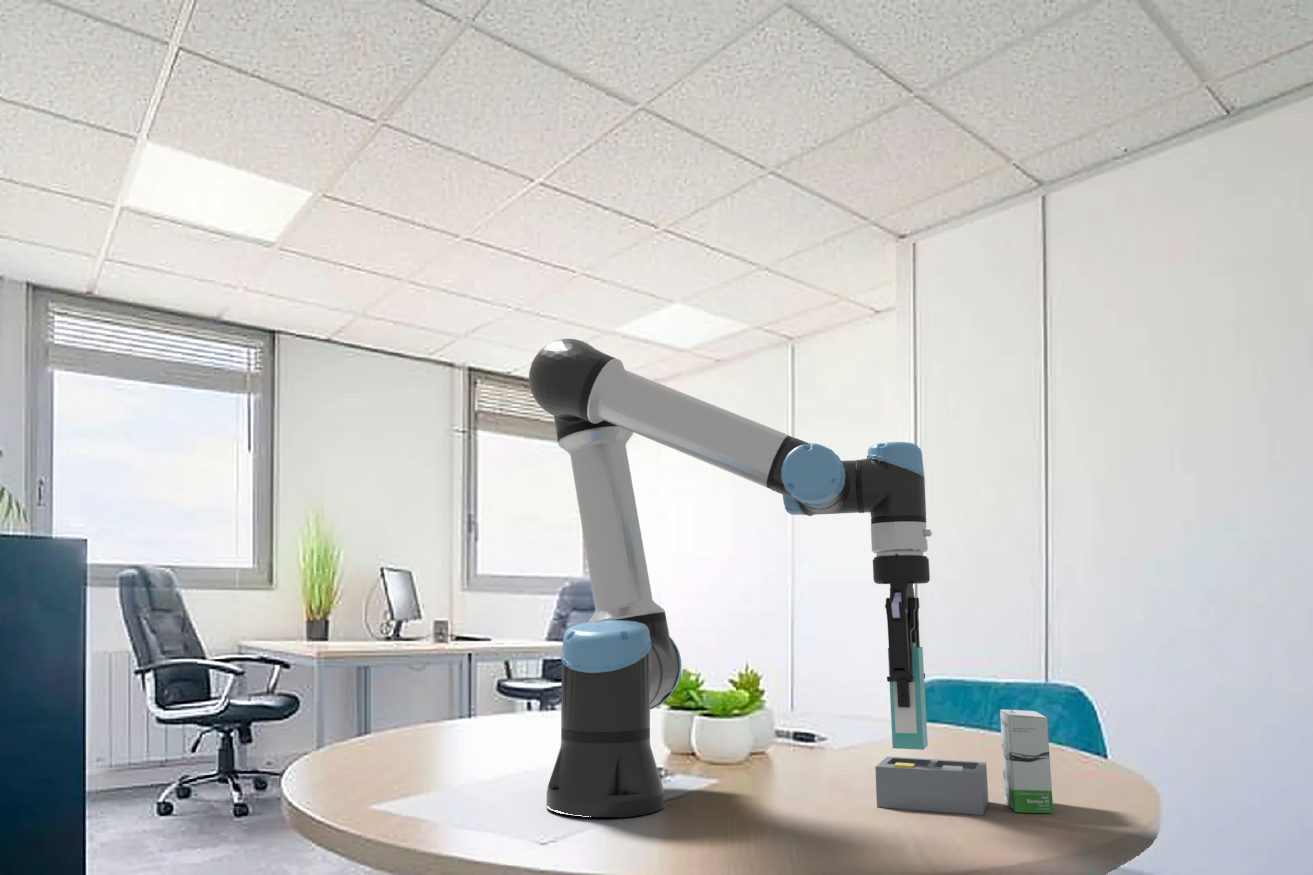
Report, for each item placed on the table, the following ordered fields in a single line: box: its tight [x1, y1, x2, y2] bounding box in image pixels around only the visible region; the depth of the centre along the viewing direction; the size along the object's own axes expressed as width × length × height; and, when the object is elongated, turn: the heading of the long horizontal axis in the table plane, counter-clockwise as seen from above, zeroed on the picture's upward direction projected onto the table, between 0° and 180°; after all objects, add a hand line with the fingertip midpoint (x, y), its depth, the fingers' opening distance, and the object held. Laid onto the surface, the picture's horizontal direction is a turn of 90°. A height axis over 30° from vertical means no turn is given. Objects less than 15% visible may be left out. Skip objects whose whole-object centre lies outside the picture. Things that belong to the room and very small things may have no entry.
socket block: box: [875, 756, 989, 816], centre depth 129 cm, size 13×9×5 cm
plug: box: [887, 643, 929, 751], centre depth 132 cm, size 4×4×14 cm
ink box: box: [999, 709, 1054, 814], centre depth 127 cm, size 9×5×12 cm, turn 168°
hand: (909, 730), depth 132 cm, fingers closed on plug, 4 cm apart
